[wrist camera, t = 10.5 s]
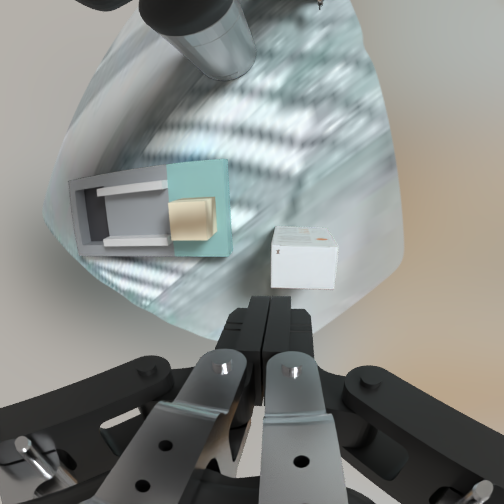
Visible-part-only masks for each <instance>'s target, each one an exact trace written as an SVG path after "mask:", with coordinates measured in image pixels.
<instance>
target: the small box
mask: <svg viewBox="0 0 504 504" xmlns="http://www.w3.org/2000/svg"><path fill="white" fill-rule="evenodd" d="M338 250H339V247H338V245H337V243H336V241H335V240H334V238H333V236H332V235H331V233H330V231H329V230H328V228H324V227H292V226H275V229H274V234H273V238H272V242H271V288H287V289H324V290H334V287H335V279H336V270H337V260H338Z"/></svg>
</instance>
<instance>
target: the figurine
mask: <svg viewBox="0 0 504 504" xmlns="http://www.w3.org/2000/svg"><path fill="white" fill-rule="evenodd" d="M317 1H318V5H319V10H320V5H322V6H323V2H322V0H317Z"/></svg>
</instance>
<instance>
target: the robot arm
mask: <svg viewBox="0 0 504 504" xmlns="http://www.w3.org/2000/svg"><path fill="white" fill-rule="evenodd" d="M76 1H78V2H79V3H81V4H83V5H85V6H87V7H90V8H92V9H95V10H99V11H112V10H115V9H117V8H119V7H121V6H123V5H125V4H127V3H128V2H130V1H132V0H76ZM139 12H140V15H141V17H142V19H143V20H144V22H145V23H146V24H147V25H149V26H150V27H151V28H152V29H153V30H155V31H156V32H157V33H158V34H160V35H161V36H162V37H163V38H164V39H166V40H167V41H168V42H169V43H170V44H172V45H173V46H174V47H175V48H176V49H177V50H178V51H180V52H181V53H182V54H183V55H184V56H185V57H186V58H187V59H189V60H190V61H191V62H192V63H193V64H194V65H195V66H196V67H197V68H198V69H199V70H200V71H202V72H203V73H204V74H205V75H206V76H208V77H209V78H212V79H215V80H221V81H223V80H231V79H235V78H238V77H240V76H242V75H243V74H245V73H246V72H247V71H248V70H249V69H250V68H251V67H252V65H253V64H254V62H255V59H256V54H257V53H256V47H255V44H254V41H253V38H252V35H251V32H250V29H249V26H248V24H247V21H246V18H245V16H244V13H243V10H242V8H241V5H240V2H239V0H139ZM263 396H264V406H265V416H264V418H263V435H262V453H261V472H260V476H255V477H245V478H236V473H237V467H238V464H239V461H240V458H241V455H242V452H243V449H244V446H245V442H246V439H247V436H248V433H249V429H250V426H251V417H252V413H253V408H254V406H262V402H263ZM137 407H138V409H139V411H140V413H141V414H140V415H138V416H136V417H133V418H131V419H129V420H127V421H125V422H122V423H120V424H118V425H115V426H113V427H111V428H107V429H103V428H100V425H101V424H102V423H103V422H105V421H107V420H109V419H112V418H114V417H117V416H119V415H121V414H124V413H126V412H128V411H130V410H133V409H135V408H137ZM341 457H342V458H343V459H344V460H346V461H347V462H348V463H349V464H351V465H352V466H353V467H354V468H355V469H357V470H358V471H359V472H360V473H361V474H363V475H364V476H365V477H366V478H368V479H369V480H370V481H372V482H373V483H374V484H375V485H377V486H378V487H379V488H381V489H382V490H383V491H385V492H386V493H387V494H389V495H390V496H391V497H393V498H394V499H396V500H397V501H398V502H400V503H401V504H504V435H502V434H500V433H498V432H496V431H494V430H492V429H491V428H489V427H487V426H485V425H483V424H481V423H479V422H477V421H476V420H474V419H472V418H470V417H468V416H466V415H464V414H463V413H461V412H459V411H457V410H455V409H454V408H452V407H450V406H448V405H446V404H444V403H443V402H441V401H439V400H437V399H436V398H434V397H432V396H430V395H428V394H427V393H425V392H423V391H422V390H420V389H418V388H416V387H415V386H413V385H411V384H409V383H408V382H406V381H404V380H402V379H401V378H399V377H397V376H396V375H394V374H392V373H390V372H388V371H387V370H385V369H383V368H381V367H377V366H360V367H357V368H354V369H353V370H351V371H350V372H349V373H348V374H347V375H346V376H340V375H335V374H331V373H328V372H326V371H324V370H323V369H321V368H320V367H319V366H318V365H317V363H316V361H315V360H314V350H313V337H312V326H311V316H310V314H309V313H308V312H307V311H306V310H305V309H291V296H272V299H271V296H251V299H250V302H249V305H248V308H237V309H236V310H234V311H233V312H232V313H231V314H229V317H228V319H227V321H226V324H225V326H224V330H223V331H222V333H221V336H220V338H219V340H218V343H217V345H216V347H215V350H213V351H210V352H208V353H206V354H204V355H203V356H202V357H201V358H200V359H199V361H198V362H197V364H196V366H195V367H191V368H182V369H171V367H170V364H169V362H168V361H167V360H166V359H164V358H162V357H159V356H144V357H140V358H137V359H134V360H133V361H130V362H127V363H125V364H122V365H120V366H117V367H115V368H112V369H110V370H108V371H105V372H103V373H100V374H97V375H95V376H92V377H89V378H87V379H84V380H82V381H79V382H76V383H73V384H71V385H68V386H65V387H63V388H60V389H57V390H54V391H51V392H48V393H46V394H43V395H40V396H37V397H34V398H31V399H28V400H25V401H22V402H19V403H16V404H13V405H9V406H6V407H3V408H0V496H1V500H2V504H375V503H374V502H373V501H372V500H370V499H369V498H368V497H366V496H364V495H363V494H361V493H359V492H357V491H355V490H353V489H350V488H347V487H346V485H345V479H344V472H343V466H342V461H341Z"/></svg>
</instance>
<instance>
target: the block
mask: <svg viewBox="0 0 504 504" xmlns="http://www.w3.org/2000/svg"><path fill="white" fill-rule="evenodd" d="M168 208H169V220H170V230H171V240H172V241H175V240H208V239H209V238H211V237H212V236H213V235H214V234H215V233H216V232H217V219H216V201H215V197H194V198H181V199H178V200H175V201H172V202H169V203H168Z"/></svg>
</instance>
